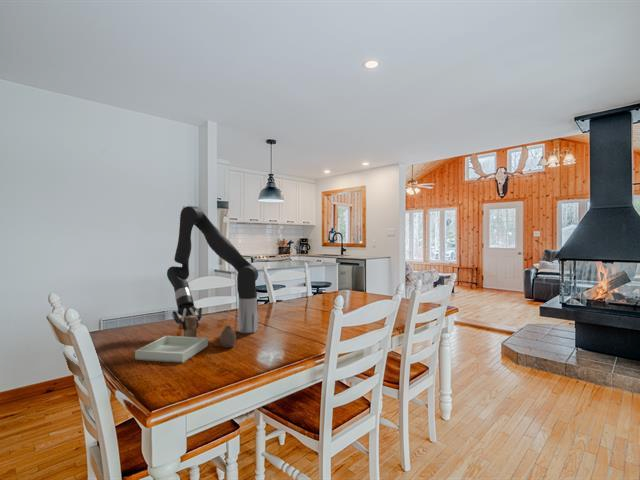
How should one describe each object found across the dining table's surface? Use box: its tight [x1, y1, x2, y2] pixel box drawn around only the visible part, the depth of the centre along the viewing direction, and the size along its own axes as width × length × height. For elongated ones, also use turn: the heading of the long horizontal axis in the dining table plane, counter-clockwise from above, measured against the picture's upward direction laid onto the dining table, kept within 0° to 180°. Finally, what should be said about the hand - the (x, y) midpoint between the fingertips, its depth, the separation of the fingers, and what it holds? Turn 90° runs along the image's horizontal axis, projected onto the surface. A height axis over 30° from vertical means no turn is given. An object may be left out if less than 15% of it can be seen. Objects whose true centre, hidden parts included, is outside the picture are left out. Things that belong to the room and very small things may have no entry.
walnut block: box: [183, 315, 197, 337], centre depth 156 cm, size 5×5×10 cm
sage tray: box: [134, 335, 209, 364], centre depth 138 cm, size 20×20×4 cm
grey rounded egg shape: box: [219, 325, 237, 349], centre depth 146 cm, size 7×7×9 cm
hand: (191, 328), depth 155 cm, fingers closed on walnut block, 4 cm apart
